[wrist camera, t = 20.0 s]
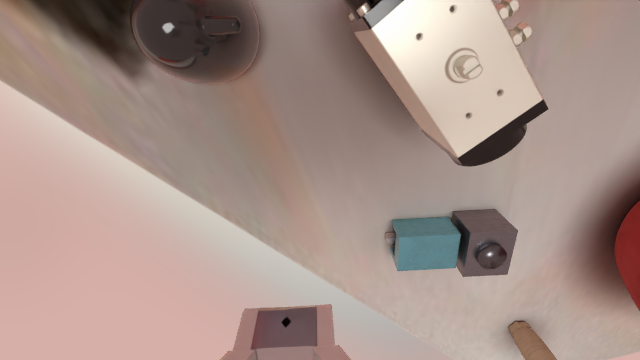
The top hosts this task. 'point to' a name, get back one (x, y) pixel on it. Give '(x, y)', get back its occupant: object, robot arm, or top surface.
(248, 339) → the robot arm
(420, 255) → the teal storage bin
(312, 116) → the top surface
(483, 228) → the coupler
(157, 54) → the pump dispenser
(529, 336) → the handle
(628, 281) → the mixing bowl
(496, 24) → the ball valve
